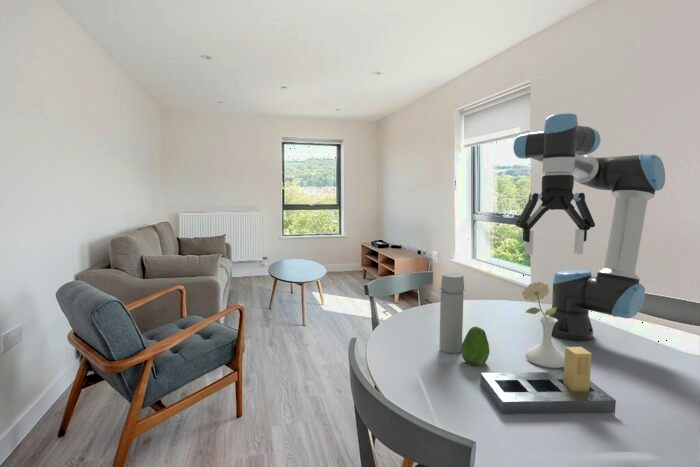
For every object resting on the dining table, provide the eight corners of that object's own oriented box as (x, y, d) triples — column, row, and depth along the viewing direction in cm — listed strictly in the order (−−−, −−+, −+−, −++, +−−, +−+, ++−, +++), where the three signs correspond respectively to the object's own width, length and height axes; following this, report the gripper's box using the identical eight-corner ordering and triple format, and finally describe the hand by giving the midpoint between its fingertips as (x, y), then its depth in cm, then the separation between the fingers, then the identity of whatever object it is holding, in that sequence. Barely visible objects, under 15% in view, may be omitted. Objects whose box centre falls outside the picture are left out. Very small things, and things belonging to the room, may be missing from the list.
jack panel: (577, 386, 102) (578, 371, 101) (614, 416, 88) (615, 400, 87) (480, 387, 101) (480, 372, 101) (502, 418, 87) (502, 401, 87)
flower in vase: (563, 358, 119) (567, 279, 116) (571, 374, 108) (576, 288, 105) (517, 352, 123) (521, 276, 120) (521, 368, 112) (524, 284, 110)
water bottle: (464, 355, 121) (466, 278, 118) (438, 353, 122) (440, 277, 120) (461, 344, 130) (463, 272, 127) (437, 342, 131) (439, 271, 129)
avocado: (485, 373, 109) (486, 333, 107) (457, 367, 113) (459, 327, 112) (491, 363, 115) (492, 324, 114) (465, 357, 120) (466, 320, 118)
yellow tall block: (578, 392, 96) (581, 346, 95) (590, 402, 92) (593, 354, 91) (562, 392, 96) (565, 346, 95) (573, 402, 92) (576, 354, 90)
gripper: (595, 175, 105) (590, 251, 108) (505, 175, 105) (502, 251, 107) (614, 173, 98) (608, 255, 100) (517, 174, 98) (514, 256, 100)
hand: (553, 253), depth 104 cm, fingers open, 13 cm apart
